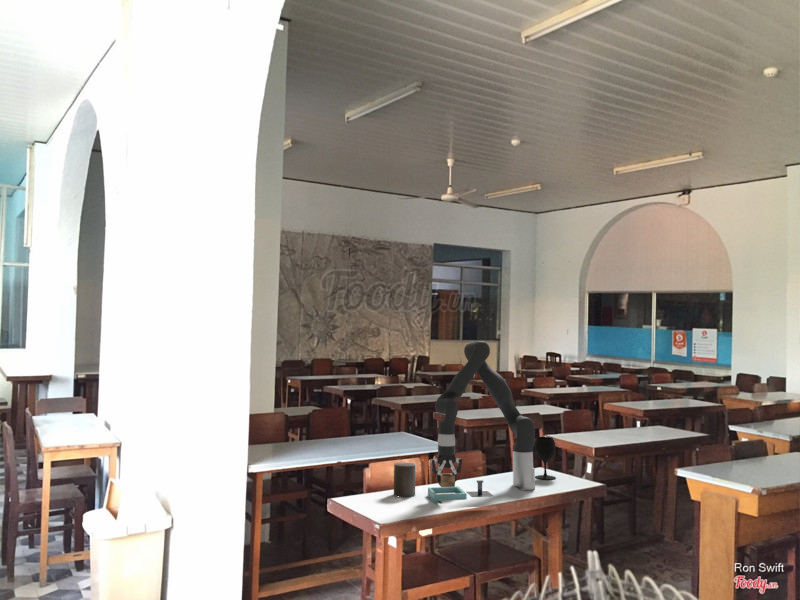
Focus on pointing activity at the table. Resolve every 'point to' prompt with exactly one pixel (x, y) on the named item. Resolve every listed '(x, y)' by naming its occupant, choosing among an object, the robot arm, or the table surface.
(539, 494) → the table surface
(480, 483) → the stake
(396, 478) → the pillar candle
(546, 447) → the wine glass
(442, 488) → the tray
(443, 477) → the walnut collar
